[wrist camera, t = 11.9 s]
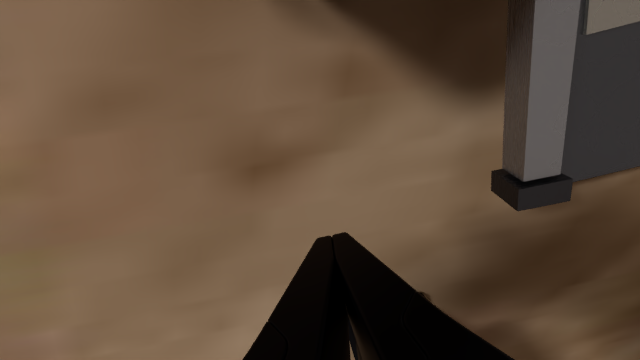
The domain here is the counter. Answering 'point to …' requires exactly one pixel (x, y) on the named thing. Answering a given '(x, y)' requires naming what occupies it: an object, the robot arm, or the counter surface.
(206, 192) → the counter surface
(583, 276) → the counter surface
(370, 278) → the robot arm
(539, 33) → the cable arm
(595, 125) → the chassis
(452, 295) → the counter surface
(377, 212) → the counter surface
